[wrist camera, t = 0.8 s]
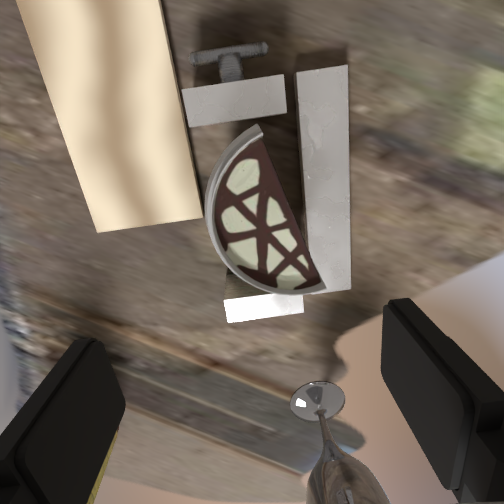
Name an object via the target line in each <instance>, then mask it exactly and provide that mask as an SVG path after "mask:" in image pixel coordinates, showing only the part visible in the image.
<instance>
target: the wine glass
mask: <svg viewBox="0 0 504 504" xmlns="http://www.w3.org/2000/svg"><path fill="white" fill-rule="evenodd" d="M344 404H345V395H344V392H343V391H342V389H341V388H339V387H338V386H337V385H335V384H333V383H330V382H323V381H319V382H312V383H309V384H306V385H304V386H302V387H301V388H299V389H298V390H297V391H296V392H295V393H294V394H293V396H292V398H291V401H290V408H291V411H292V413H293V414H294V415H295V416H296V417H297V418H299V419H300V420H303V421H305V422H311V423H319V422H320V425H321V430H322V437H323V450H322V454H321V457H320V458H319V460H318V462H317V463H316V465H315V467H314V469H313V470H312V472H311V475H310V477H309V480H308V483H307V492H306V504H391V503H390V501H389V499H388V497H387V495H386V493H385V491H384V490H383V488H382V486H381V485H380V483H379V482H378V480H377V479H376V477H375V476H374V474H373V473H372V472H371V470H370V469H369V468H368V467H367V466H366V465H364V464H363V463H362V462H361V461H359V460H357V459H356V458H354V457H352V456H351V455H349V454H347V453H346V452H344V451H343V450H342V449H340V448H339V447H338V445H337V444H336V443H335V441H334V439H333V437H332V435H331V433H330V430H329V428H328V425H327V422H326V421H327V420H330V419H332V418H333V417H335V416H336V415H338V414H339V413H340V411H341V410H342V409H343V407H344Z"/></svg>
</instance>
